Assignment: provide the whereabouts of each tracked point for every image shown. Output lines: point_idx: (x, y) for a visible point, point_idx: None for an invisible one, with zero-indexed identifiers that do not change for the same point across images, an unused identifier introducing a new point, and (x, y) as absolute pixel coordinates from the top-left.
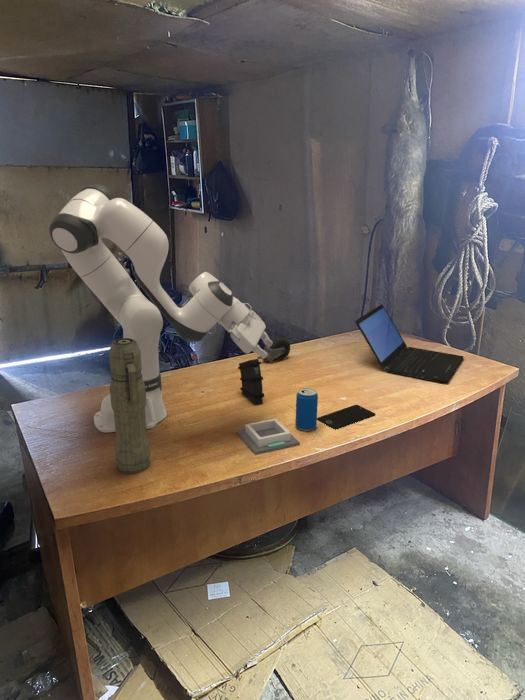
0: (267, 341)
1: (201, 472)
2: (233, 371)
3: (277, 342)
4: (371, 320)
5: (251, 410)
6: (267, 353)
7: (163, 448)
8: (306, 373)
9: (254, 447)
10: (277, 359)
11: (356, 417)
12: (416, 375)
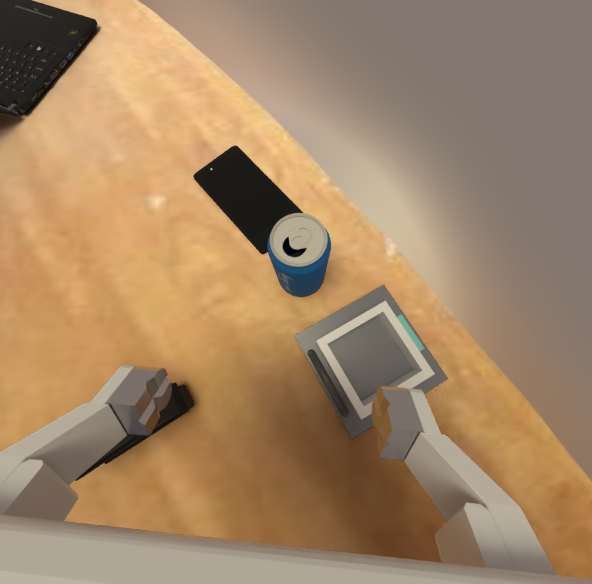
0: (139, 413)
1: (554, 500)
2: None
3: None
4: None
5: (225, 410)
6: (391, 389)
7: None
8: (4, 281)
9: (427, 382)
10: None
11: (254, 177)
12: (60, 61)
